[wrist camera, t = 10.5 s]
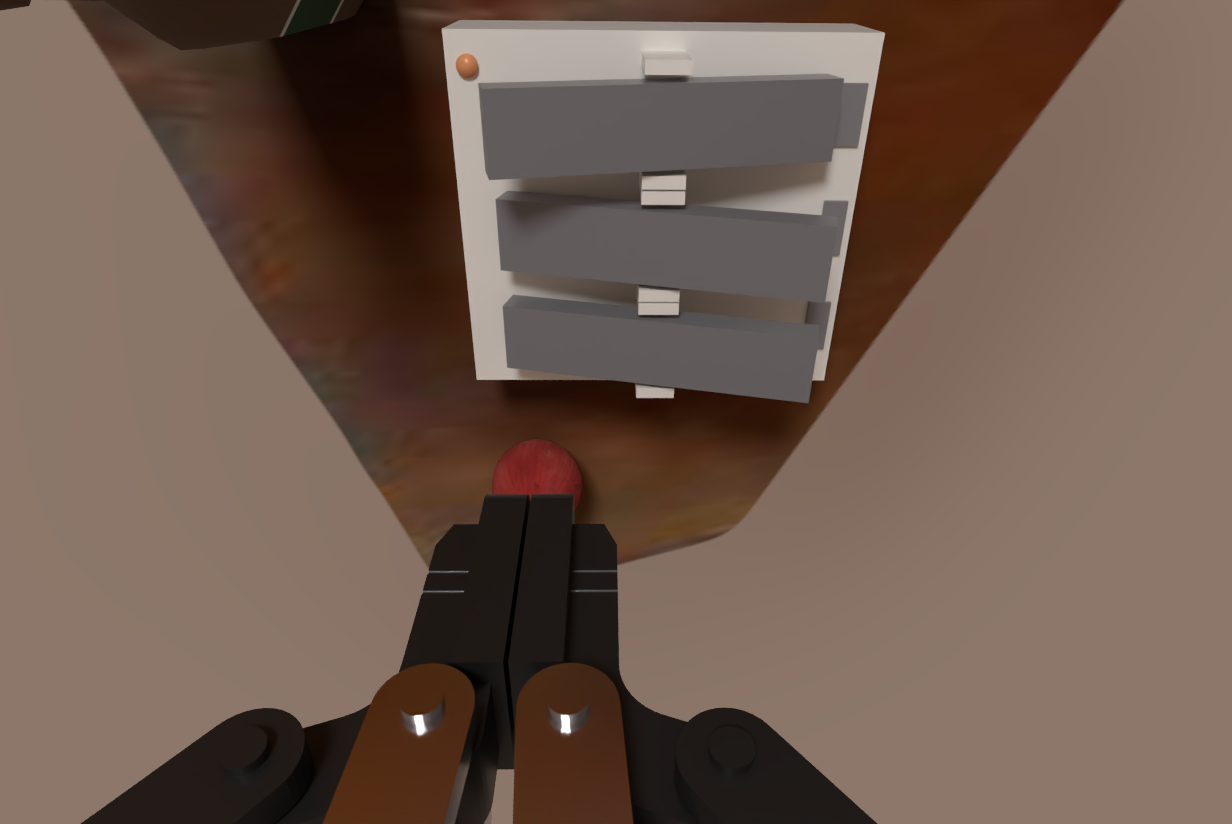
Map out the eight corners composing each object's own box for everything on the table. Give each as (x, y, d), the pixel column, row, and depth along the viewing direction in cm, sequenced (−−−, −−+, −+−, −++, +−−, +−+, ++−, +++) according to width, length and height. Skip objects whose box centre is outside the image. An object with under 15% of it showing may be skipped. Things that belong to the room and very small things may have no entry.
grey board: (512, 294, 40) (502, 306, 39) (818, 325, 37) (819, 338, 36) (516, 354, 42) (507, 367, 41) (808, 388, 39) (808, 403, 38)
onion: (599, 443, 52) (599, 517, 45) (555, 498, 54) (548, 577, 47) (526, 402, 50) (514, 473, 43) (484, 461, 52) (466, 538, 45)
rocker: (507, 190, 38) (495, 199, 36) (837, 216, 34) (837, 226, 33) (511, 259, 39) (500, 270, 38) (825, 290, 36) (824, 303, 35)
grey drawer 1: (478, 82, 31) (481, 88, 30) (826, 73, 35) (844, 78, 34) (485, 171, 33) (488, 180, 32) (815, 153, 37) (831, 161, 35)
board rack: (460, 20, 38) (426, 35, 31) (853, 23, 38) (910, 40, 31) (488, 341, 47) (467, 410, 40) (804, 342, 48) (839, 411, 41)
